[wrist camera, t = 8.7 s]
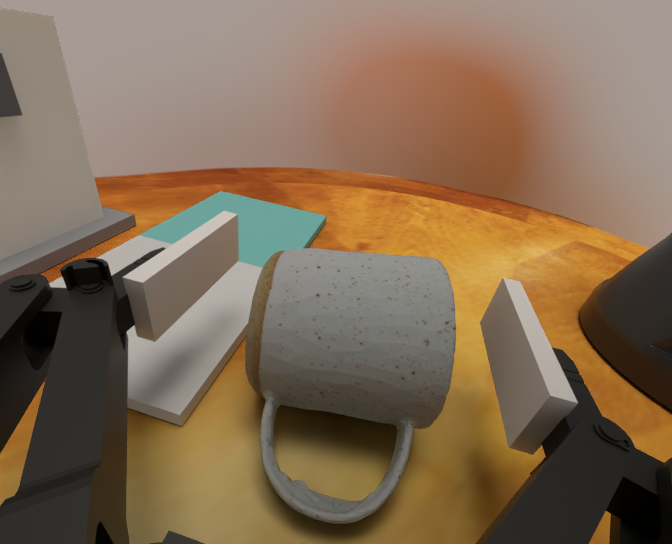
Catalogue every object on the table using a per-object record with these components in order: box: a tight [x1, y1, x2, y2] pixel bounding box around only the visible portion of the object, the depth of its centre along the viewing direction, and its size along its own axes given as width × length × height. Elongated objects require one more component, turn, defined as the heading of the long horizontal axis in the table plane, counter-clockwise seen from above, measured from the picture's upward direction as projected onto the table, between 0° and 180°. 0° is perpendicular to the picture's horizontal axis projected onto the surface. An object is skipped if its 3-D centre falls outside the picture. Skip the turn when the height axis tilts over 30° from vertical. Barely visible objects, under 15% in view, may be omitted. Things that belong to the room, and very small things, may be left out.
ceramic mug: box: [245, 248, 456, 524], centre depth 14 cm, size 11×8×8 cm
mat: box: [45, 191, 327, 426], centre depth 25 cm, size 12×24×1 cm, turn 166°
